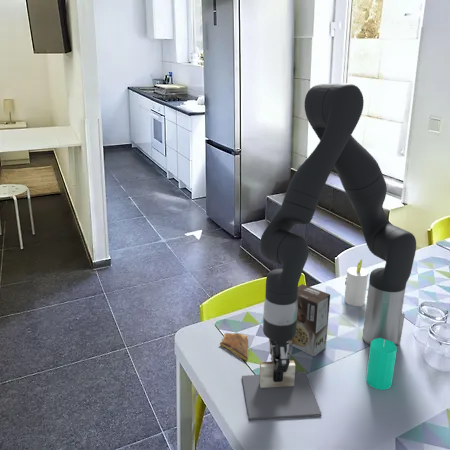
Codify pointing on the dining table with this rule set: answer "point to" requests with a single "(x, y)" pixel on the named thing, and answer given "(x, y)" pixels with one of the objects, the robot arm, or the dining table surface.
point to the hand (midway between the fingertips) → (277, 377)
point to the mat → (280, 399)
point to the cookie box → (311, 320)
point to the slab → (267, 375)
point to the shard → (236, 344)
